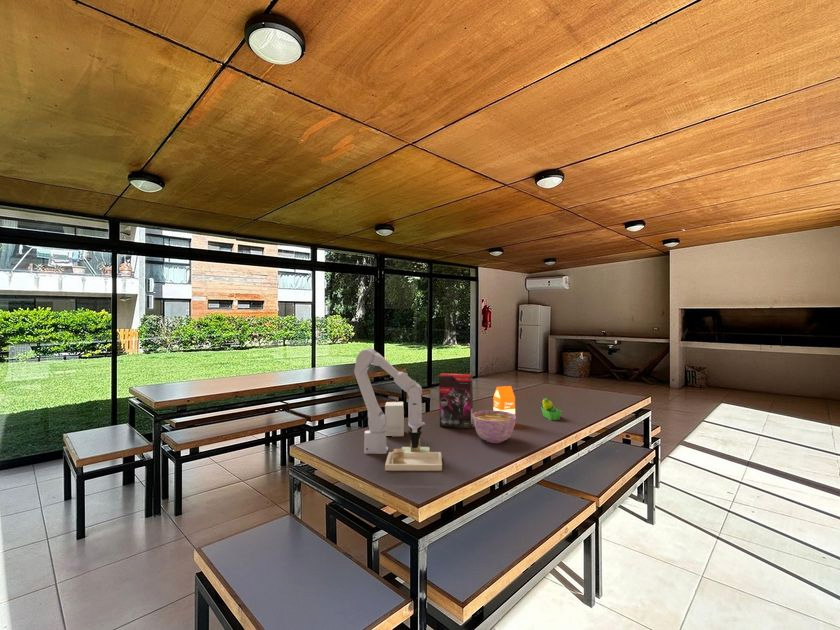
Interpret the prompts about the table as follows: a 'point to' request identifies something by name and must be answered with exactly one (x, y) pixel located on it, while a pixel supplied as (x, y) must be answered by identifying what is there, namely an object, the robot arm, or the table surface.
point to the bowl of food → (494, 425)
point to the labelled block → (416, 448)
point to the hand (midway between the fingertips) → (415, 444)
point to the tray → (416, 462)
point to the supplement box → (394, 418)
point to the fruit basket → (550, 410)
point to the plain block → (398, 456)
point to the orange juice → (504, 399)
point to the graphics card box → (456, 400)
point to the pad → (422, 449)
